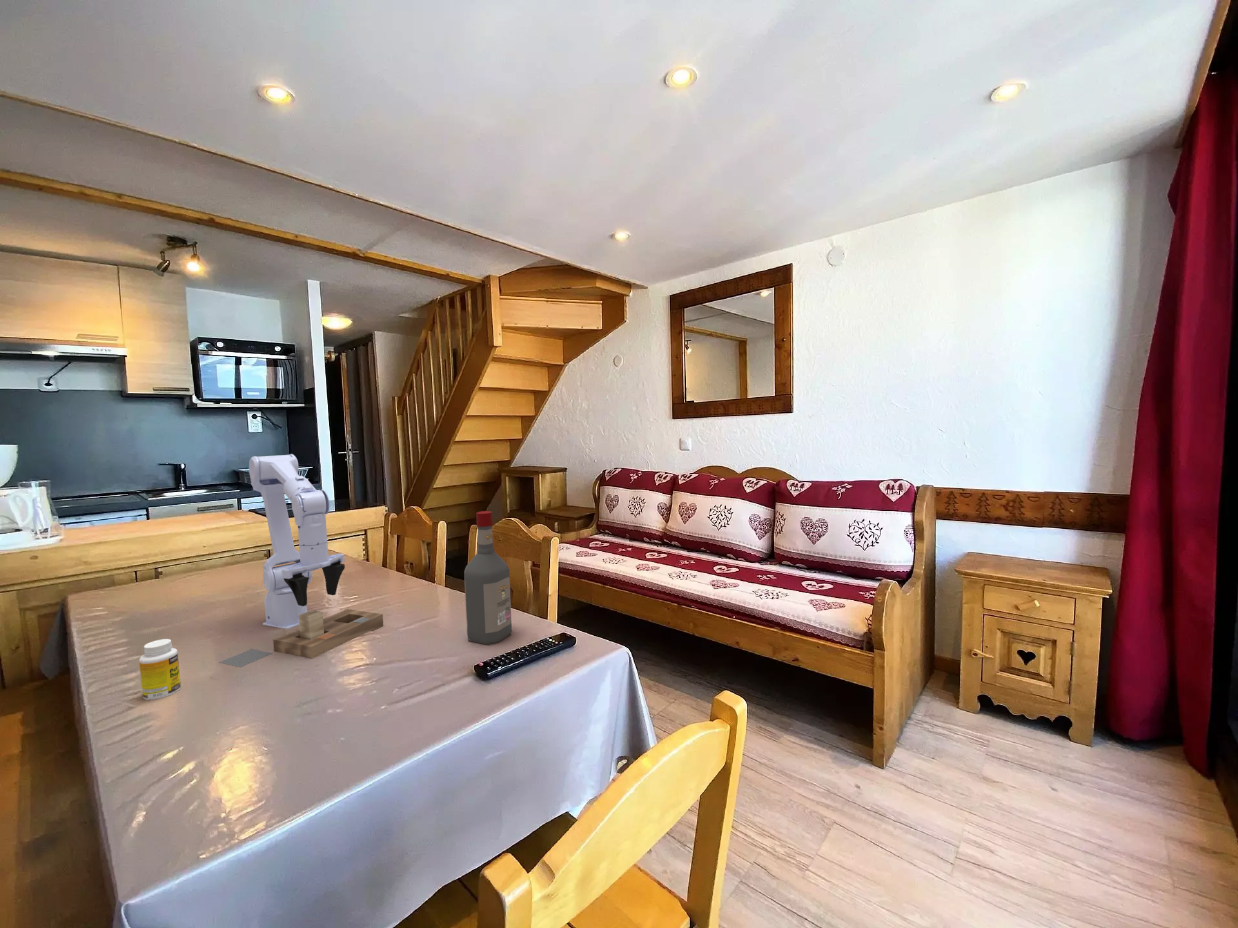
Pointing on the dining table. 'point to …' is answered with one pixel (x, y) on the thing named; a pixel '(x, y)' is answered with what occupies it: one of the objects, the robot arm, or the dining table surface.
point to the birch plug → (311, 624)
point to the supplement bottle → (159, 670)
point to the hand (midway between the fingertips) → (317, 599)
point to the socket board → (330, 633)
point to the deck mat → (245, 658)
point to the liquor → (487, 589)
